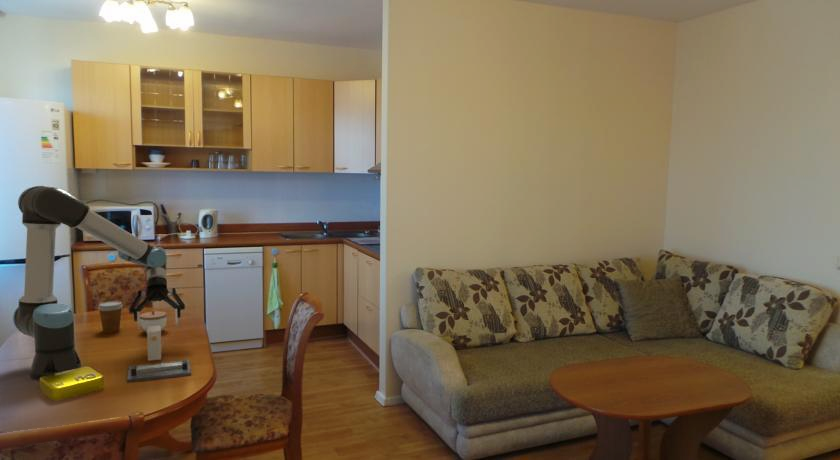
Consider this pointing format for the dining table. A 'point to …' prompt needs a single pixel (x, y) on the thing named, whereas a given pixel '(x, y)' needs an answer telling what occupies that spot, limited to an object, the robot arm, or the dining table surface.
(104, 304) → the disposable coffee cup
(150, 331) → the block
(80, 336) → the dining table surface
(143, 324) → the lidded jar
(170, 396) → the dining table surface
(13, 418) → the dining table surface
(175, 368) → the mounting plate
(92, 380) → the element tile
